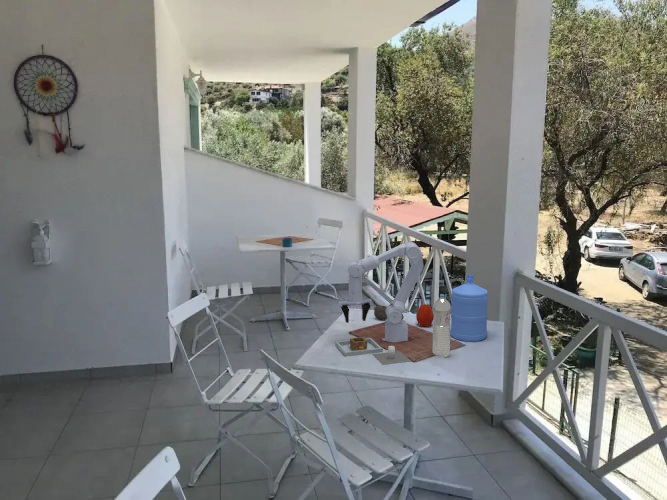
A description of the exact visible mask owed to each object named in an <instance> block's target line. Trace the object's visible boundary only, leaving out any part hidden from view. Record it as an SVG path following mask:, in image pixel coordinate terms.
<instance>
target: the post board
mask: <svg viewBox="0 0 667 500" xmlns="http://www.w3.org/2000/svg"><path fill="white" fill-rule="evenodd" d="M371 355H372V356H373V357H374V358H375V359H376V360H377V362H379V363H380V364H381V365H382V366H385V365H386V366H387V365H394V364H401V363H402V364H403V363H410V362H413V361H412V360H411V359H410V358H408V357H407V356H406V355H405V354H404V353H403V352H402V351H401V350H398V351H396V347H395V345H388V347H387V352H380V353H372V354H371Z"/></svg>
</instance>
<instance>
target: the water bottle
mask: <svg viewBox="0 0 667 500" xmlns="http://www.w3.org/2000/svg"><path fill="white" fill-rule="evenodd" d="M451 310H452V304H451V303H450V302H449V300H447V299H446V298H445V294H443V293H441V294H439V298H438V299H437V300H436V301H434V303H433V322H432V354H433V355H435V356H440V357H443V358H447V357H448V358H449V357H450V354H451V349H450V348H451Z"/></svg>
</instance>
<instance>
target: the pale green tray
mask: <svg viewBox="0 0 667 500" xmlns="http://www.w3.org/2000/svg"><path fill="white" fill-rule="evenodd" d="M364 339H365V340H366V341H367V344H368V343H370V344H371V345H372V347H374V348H367V349H366V350H358V351H353V350H352V351H351V350H349V351H347V350H346V349H345V348H344V347H343V346H347V345H348V346H350V339H349V340H348V339H347V340H338V341H335V342H334V343H335V345H334V346H335V347H336V348H337V349H338V350H339V351H340V353H341V354H342V355H343V356H344V357H345V358H346V357H352V356H353V357H354V356H361V355H370V354H371V355H372V354H379V353H384V348H383V347H381V346H380V345H379V344H378V342H376V341H375V340H374V339H373V338H372V337H367V338H364Z"/></svg>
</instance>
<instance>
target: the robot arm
mask: <svg viewBox="0 0 667 500" xmlns="http://www.w3.org/2000/svg"><path fill="white" fill-rule="evenodd" d="M405 256H406V257H405ZM396 257H398V258H407V259H408V262H409V264H410V268H409V269H408V272H407V273H406V276H405V277H404V279H403V282H402V283H401V285H400V287H399V289H398V291H397V293H396V295H395V298H393V300H391V302H390V304H389V305H387V306H386V310H385V313H386V315H387V319H386V320H384V321H385V322H384V324H385V325H384V334H385V335H384V337H383V338H381V341H383V342H384V341H385V342H387V343H400V342H406V341H409V326H408V322H406V320H402V314H403V313H404V309H405V305H406V303H407V301H408V299H409V298H410V296H411V293H412V291H413V289H414V287H415V286H416V283H417V281H418V279H419V277H420V276H421V273H423V270H424V260H423V252H422V250H421V248H420V247H419V246H418V245H417V244H416V243H415V242H413V241H407V242H406V243H401V244H399V245H398V246H395V247H393V248H391V249H389V250H387V251H385V252H383V253H381V254H378V255H374V254H368V255H367V256H366V257H364V258H362V259H357V260H356V261H352V262H351V263H350V264H349V265H348V268H347V271H348V299H346V300H342V301H341V300H340V301H338V307H339V308H341V310H342V313H343V316H344V320H345V323H346V324H348V323H350V322H349V321H350V318H349V316H350V315H349V314H350V307H348V306H360V305H361V316H362V317H361V318H362V321H363V322H366V319H367V316H368V313H369V310H370V309H371V306H372V304H373V299H372V298H363V280H362V275H363V274H365V273H368V272H371V271H373V270H374V269H377V268H379V266H380V264H381V263H384V262H387V261H389V260H391V259H395V258H396Z"/></svg>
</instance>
